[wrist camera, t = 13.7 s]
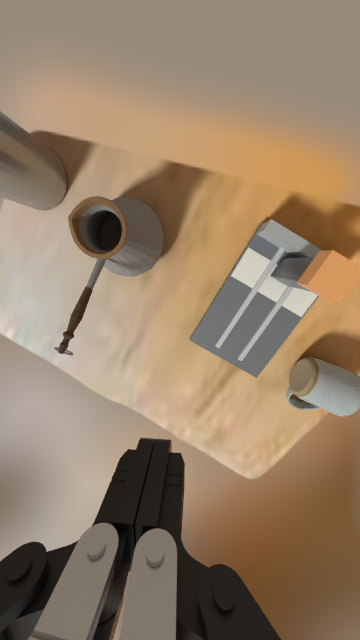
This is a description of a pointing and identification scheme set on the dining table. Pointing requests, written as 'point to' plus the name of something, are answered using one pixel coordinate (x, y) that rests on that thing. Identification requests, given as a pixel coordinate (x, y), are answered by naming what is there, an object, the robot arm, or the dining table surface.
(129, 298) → the dining table surface
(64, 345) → the coffee pot
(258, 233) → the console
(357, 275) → the fader
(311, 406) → the ceramic mug
